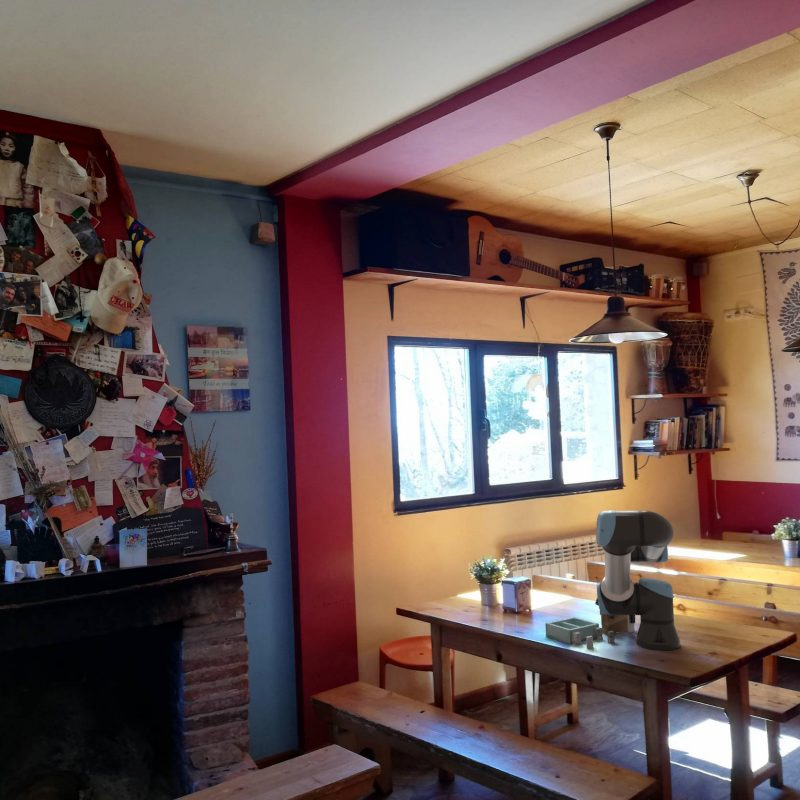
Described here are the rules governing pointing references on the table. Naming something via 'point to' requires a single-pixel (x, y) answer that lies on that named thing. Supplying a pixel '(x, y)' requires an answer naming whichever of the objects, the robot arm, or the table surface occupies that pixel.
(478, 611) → the table surface
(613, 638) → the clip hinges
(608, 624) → the door
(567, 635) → the box
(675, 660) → the table surface
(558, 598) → the table surface
